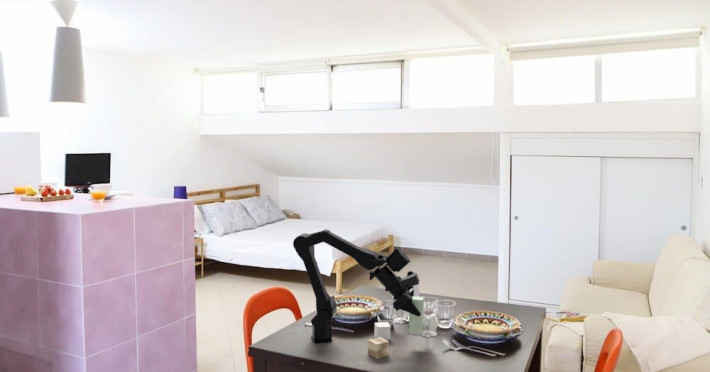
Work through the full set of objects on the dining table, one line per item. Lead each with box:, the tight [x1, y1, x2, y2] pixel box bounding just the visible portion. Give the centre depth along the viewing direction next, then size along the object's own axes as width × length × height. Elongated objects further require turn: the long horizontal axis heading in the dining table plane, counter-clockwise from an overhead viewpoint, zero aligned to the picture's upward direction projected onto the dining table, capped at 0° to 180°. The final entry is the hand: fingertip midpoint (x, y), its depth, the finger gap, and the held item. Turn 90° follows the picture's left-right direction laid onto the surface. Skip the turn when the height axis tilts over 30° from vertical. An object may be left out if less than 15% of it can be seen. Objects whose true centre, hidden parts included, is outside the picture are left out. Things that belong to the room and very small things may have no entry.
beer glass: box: [402, 283, 420, 323], centre depth 224 cm, size 7×7×15 cm
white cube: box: [373, 321, 391, 341], centre depth 204 cm, size 5×5×5 cm
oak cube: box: [367, 337, 390, 360], centre depth 187 cm, size 5×5×5 cm
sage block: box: [408, 295, 424, 335], centre depth 194 cm, size 4×4×12 cm
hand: (420, 313), depth 194 cm, fingers closed on sage block, 4 cm apart
